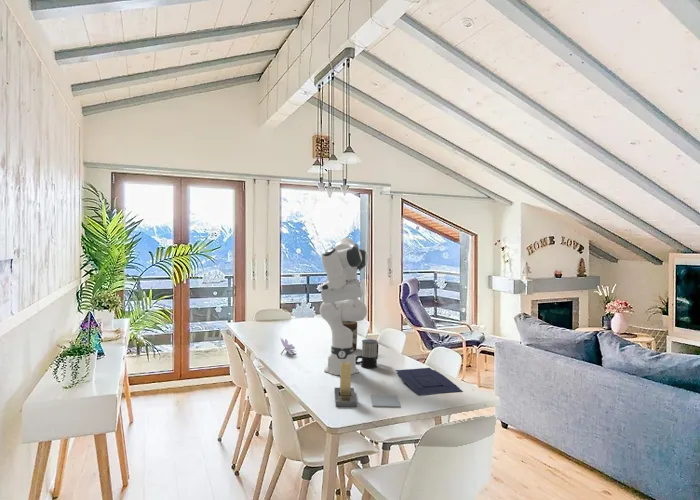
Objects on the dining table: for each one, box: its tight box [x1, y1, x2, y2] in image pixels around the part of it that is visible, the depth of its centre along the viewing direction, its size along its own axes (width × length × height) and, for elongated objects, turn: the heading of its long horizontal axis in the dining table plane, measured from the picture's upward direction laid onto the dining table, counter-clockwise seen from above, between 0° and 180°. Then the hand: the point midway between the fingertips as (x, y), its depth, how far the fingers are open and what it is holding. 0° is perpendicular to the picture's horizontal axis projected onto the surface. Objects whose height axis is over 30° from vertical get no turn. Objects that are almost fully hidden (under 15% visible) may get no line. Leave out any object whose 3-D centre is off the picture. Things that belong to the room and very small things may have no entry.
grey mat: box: [370, 394, 401, 408], centre depth 207 cm, size 14×12×1 cm
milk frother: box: [355, 338, 379, 369], centre depth 268 cm, size 14×16×15 cm
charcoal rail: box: [334, 387, 358, 408], centre depth 209 cm, size 20×9×2 cm, turn 3°
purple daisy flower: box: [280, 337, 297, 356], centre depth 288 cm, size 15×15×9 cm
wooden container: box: [342, 321, 358, 352], centre depth 305 cm, size 15×15×22 cm
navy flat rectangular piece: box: [395, 367, 463, 396], centre depth 234 cm, size 24×30×4 cm
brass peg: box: [339, 362, 352, 396], centre depth 209 cm, size 4×4×16 cm
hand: (346, 308), depth 225 cm, fingers open, 8 cm apart
